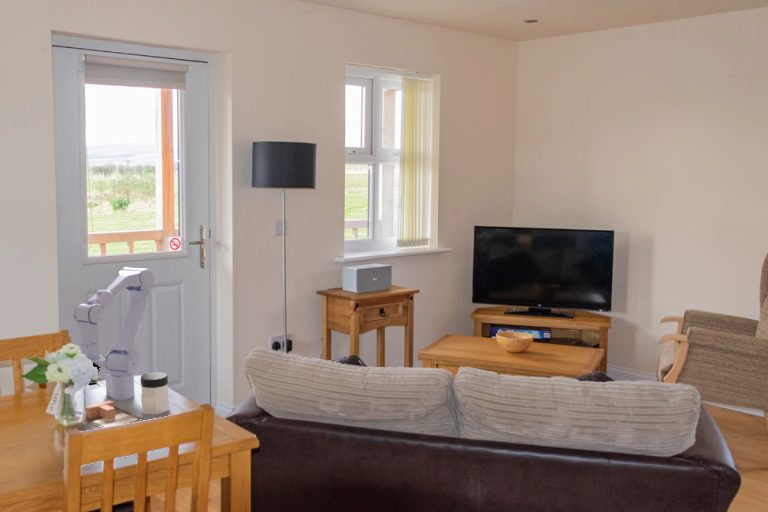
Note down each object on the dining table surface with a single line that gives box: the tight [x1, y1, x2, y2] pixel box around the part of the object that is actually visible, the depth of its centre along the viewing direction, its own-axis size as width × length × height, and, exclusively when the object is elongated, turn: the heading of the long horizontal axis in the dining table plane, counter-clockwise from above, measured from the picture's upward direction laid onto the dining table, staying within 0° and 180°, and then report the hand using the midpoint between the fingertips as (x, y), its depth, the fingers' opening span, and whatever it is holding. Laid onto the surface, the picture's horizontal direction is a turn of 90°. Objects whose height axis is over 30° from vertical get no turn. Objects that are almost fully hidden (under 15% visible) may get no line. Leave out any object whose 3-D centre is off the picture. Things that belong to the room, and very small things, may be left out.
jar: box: [140, 371, 170, 415], centre depth 249 cm, size 9×8×12 cm
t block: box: [85, 400, 115, 420], centre depth 244 cm, size 8×8×3 cm
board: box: [81, 405, 145, 429], centre depth 243 cm, size 20×13×1 cm, turn 49°
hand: (92, 384), depth 248 cm, fingers closed
